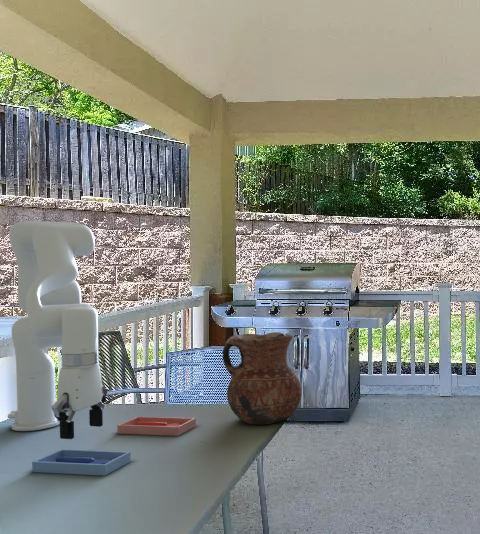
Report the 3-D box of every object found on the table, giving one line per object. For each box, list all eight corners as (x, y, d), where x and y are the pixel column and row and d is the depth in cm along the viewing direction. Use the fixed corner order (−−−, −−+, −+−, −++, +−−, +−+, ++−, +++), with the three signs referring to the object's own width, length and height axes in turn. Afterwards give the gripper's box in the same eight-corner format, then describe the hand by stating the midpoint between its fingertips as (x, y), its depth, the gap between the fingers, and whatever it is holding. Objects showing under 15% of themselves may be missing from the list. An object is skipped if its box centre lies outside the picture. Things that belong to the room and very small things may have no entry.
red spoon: (131, 429, 168) (131, 423, 167) (140, 425, 171) (139, 419, 171) (174, 430, 165) (174, 425, 165) (182, 426, 169) (182, 421, 169)
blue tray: (32, 472, 136) (31, 461, 136) (62, 458, 145) (61, 448, 145) (104, 475, 133) (104, 465, 133) (130, 461, 142) (130, 451, 142)
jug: (277, 406, 193) (276, 328, 192) (317, 417, 178) (315, 332, 177) (213, 420, 177) (211, 335, 177) (250, 434, 162) (248, 341, 162)
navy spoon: (50, 466, 138) (49, 459, 138) (62, 460, 142) (62, 453, 142) (101, 468, 136) (101, 461, 136) (113, 462, 140) (112, 455, 140)
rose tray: (117, 433, 165) (117, 425, 165) (137, 424, 174) (137, 416, 174) (178, 435, 162) (178, 427, 162) (196, 426, 171) (195, 418, 171)
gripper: (91, 352, 151) (93, 421, 151) (38, 366, 134) (39, 442, 134) (118, 353, 150) (119, 422, 150) (68, 367, 133) (69, 444, 133)
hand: (82, 432), depth 142 cm, fingers open, 9 cm apart
